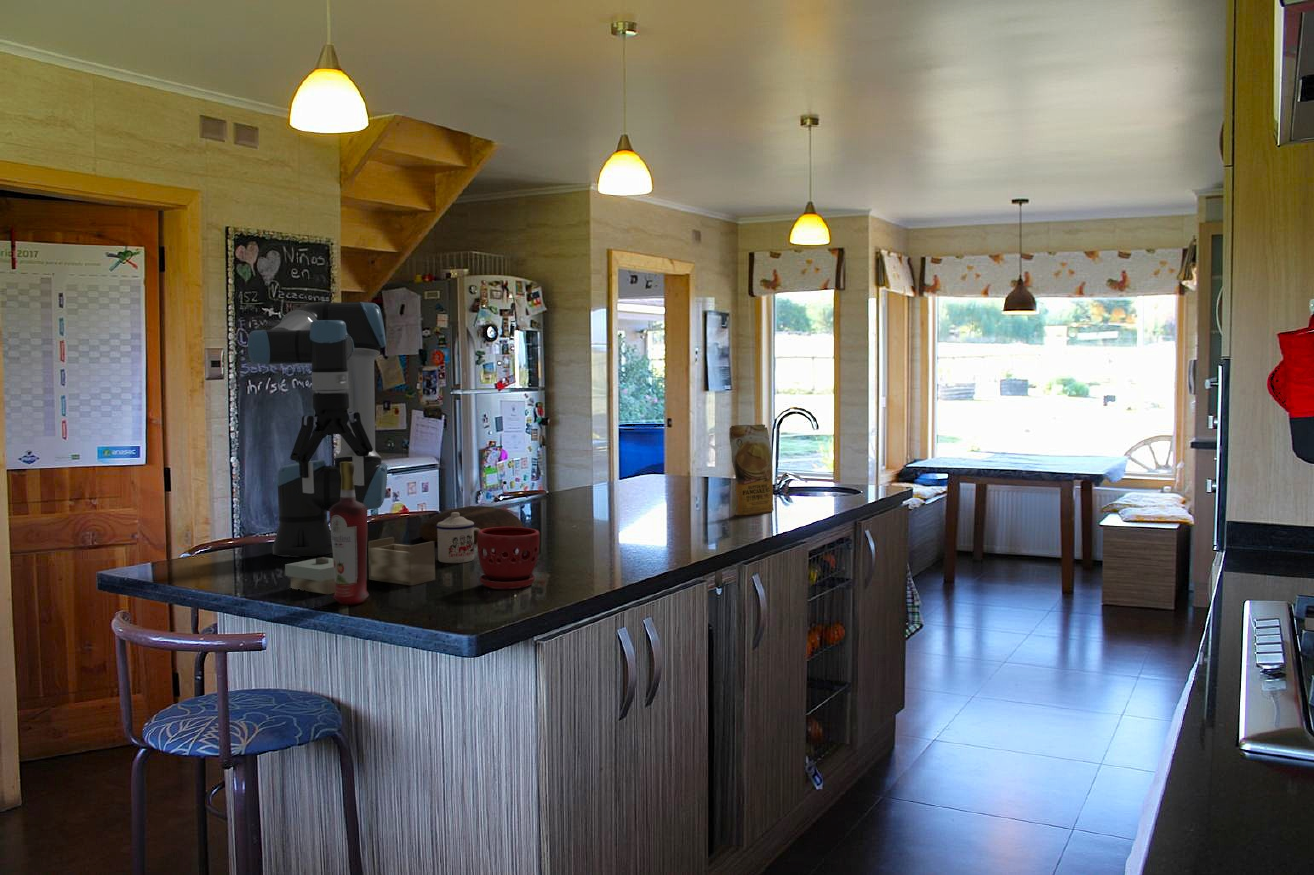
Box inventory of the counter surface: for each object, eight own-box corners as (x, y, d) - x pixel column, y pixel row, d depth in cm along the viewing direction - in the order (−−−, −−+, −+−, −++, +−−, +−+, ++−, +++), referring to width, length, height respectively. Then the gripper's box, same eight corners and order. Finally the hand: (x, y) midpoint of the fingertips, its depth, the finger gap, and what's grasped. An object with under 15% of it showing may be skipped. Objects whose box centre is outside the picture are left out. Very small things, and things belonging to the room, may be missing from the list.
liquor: (324, 604, 206) (319, 463, 204) (347, 597, 213) (343, 460, 211) (355, 607, 204) (350, 464, 202) (377, 599, 210) (373, 461, 209)
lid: (285, 575, 221) (284, 559, 221) (323, 568, 229) (323, 552, 229) (321, 581, 215) (320, 564, 215) (359, 572, 223) (358, 557, 223)
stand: (290, 588, 223) (290, 574, 222) (317, 582, 229) (317, 569, 228) (328, 594, 216) (327, 580, 216) (355, 588, 222) (354, 574, 222)
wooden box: (369, 579, 231) (368, 541, 231) (393, 574, 237) (392, 536, 237) (411, 585, 224) (410, 546, 223) (435, 579, 230) (434, 541, 229)
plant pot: (487, 594, 214) (485, 536, 213) (472, 583, 226) (470, 528, 225) (548, 588, 219) (547, 531, 219) (530, 577, 231) (529, 523, 231)
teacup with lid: (449, 565, 247) (448, 516, 247) (430, 560, 254) (429, 512, 253) (492, 558, 255) (491, 511, 254) (473, 554, 262) (471, 507, 261)
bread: (544, 535, 293) (543, 504, 293) (482, 550, 269) (481, 516, 269) (465, 528, 307) (464, 498, 307) (399, 542, 284) (398, 510, 283)
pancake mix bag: (722, 514, 327) (722, 425, 325) (766, 509, 339) (766, 423, 337) (737, 517, 322) (736, 426, 320) (781, 511, 334) (781, 423, 332)
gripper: (293, 395, 214) (297, 497, 216) (386, 389, 235) (389, 483, 237) (270, 394, 218) (274, 494, 220) (364, 388, 239) (367, 481, 241)
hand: (334, 489), depth 228 cm, fingers open, 13 cm apart
